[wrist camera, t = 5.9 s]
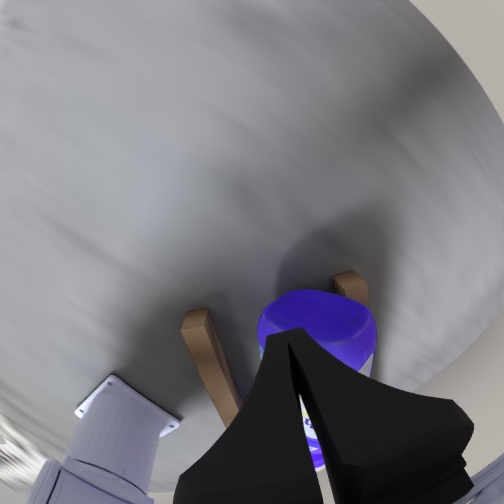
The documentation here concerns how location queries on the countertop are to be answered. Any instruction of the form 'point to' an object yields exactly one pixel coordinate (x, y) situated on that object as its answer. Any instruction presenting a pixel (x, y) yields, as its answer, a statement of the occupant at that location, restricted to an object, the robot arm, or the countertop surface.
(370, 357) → the bottle
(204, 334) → the cradle
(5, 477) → the countertop surface
